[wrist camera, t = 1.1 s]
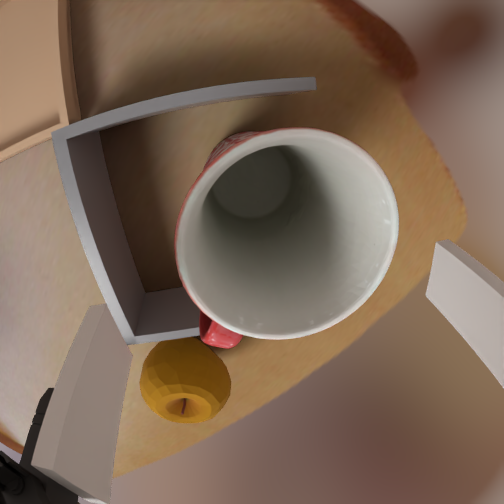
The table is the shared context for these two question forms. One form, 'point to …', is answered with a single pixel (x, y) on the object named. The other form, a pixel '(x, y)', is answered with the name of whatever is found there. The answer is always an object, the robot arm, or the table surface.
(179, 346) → the apple
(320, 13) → the table surface
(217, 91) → the bay
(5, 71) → the tray
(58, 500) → the robot arm
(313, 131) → the mug
